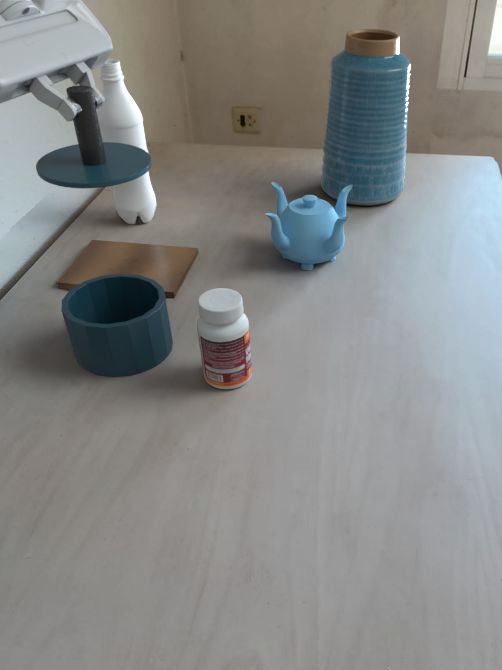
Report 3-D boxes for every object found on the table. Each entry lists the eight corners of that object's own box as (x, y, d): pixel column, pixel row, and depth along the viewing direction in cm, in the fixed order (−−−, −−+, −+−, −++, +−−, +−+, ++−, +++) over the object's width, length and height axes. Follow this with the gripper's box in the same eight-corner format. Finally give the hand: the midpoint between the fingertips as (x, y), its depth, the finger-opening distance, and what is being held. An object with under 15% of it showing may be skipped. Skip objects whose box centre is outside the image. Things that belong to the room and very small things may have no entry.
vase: (326, 172, 130) (330, 21, 112) (405, 178, 129) (422, 26, 111) (315, 205, 118) (318, 42, 100) (401, 212, 117) (420, 48, 99)
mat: (58, 288, 95) (56, 282, 94) (93, 245, 105) (92, 239, 104) (174, 298, 93) (173, 292, 93) (198, 253, 104) (198, 248, 103)
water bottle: (154, 227, 110) (127, 68, 93) (113, 226, 110) (78, 66, 93) (162, 210, 115) (138, 56, 98) (123, 209, 115) (92, 54, 98)
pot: (60, 371, 80) (44, 322, 75) (97, 317, 89) (85, 270, 84) (156, 380, 79) (146, 331, 74) (183, 325, 88) (176, 277, 83)
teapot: (345, 279, 99) (348, 218, 92) (261, 273, 99) (259, 212, 92) (349, 241, 108) (352, 183, 101) (273, 236, 109) (271, 178, 102)
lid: (18, 188, 72) (-8, 102, 66) (66, 148, 82) (47, 69, 76) (131, 198, 71) (115, 111, 65) (166, 155, 81) (155, 76, 75)
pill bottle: (259, 384, 79) (255, 307, 71) (212, 396, 77) (202, 318, 69) (242, 357, 83) (237, 281, 76) (197, 368, 81) (187, 291, 74)
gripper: (-78, -8, 59) (35, 119, 63) (66, -34, 73) (151, 71, 77) (-94, 41, 63) (13, 157, 67) (45, 7, 77) (127, 105, 81)
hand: (88, 111), depth 72 cm, fingers closed on lid, 3 cm apart
